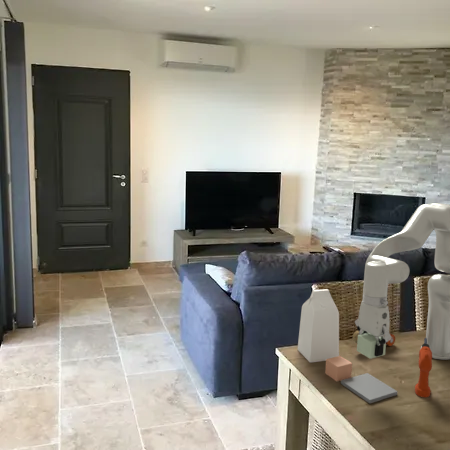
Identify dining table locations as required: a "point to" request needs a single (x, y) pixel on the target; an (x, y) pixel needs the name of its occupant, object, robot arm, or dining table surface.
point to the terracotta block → (338, 368)
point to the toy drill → (424, 370)
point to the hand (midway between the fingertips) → (370, 350)
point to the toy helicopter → (391, 341)
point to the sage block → (368, 345)
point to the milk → (319, 327)
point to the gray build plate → (369, 388)
